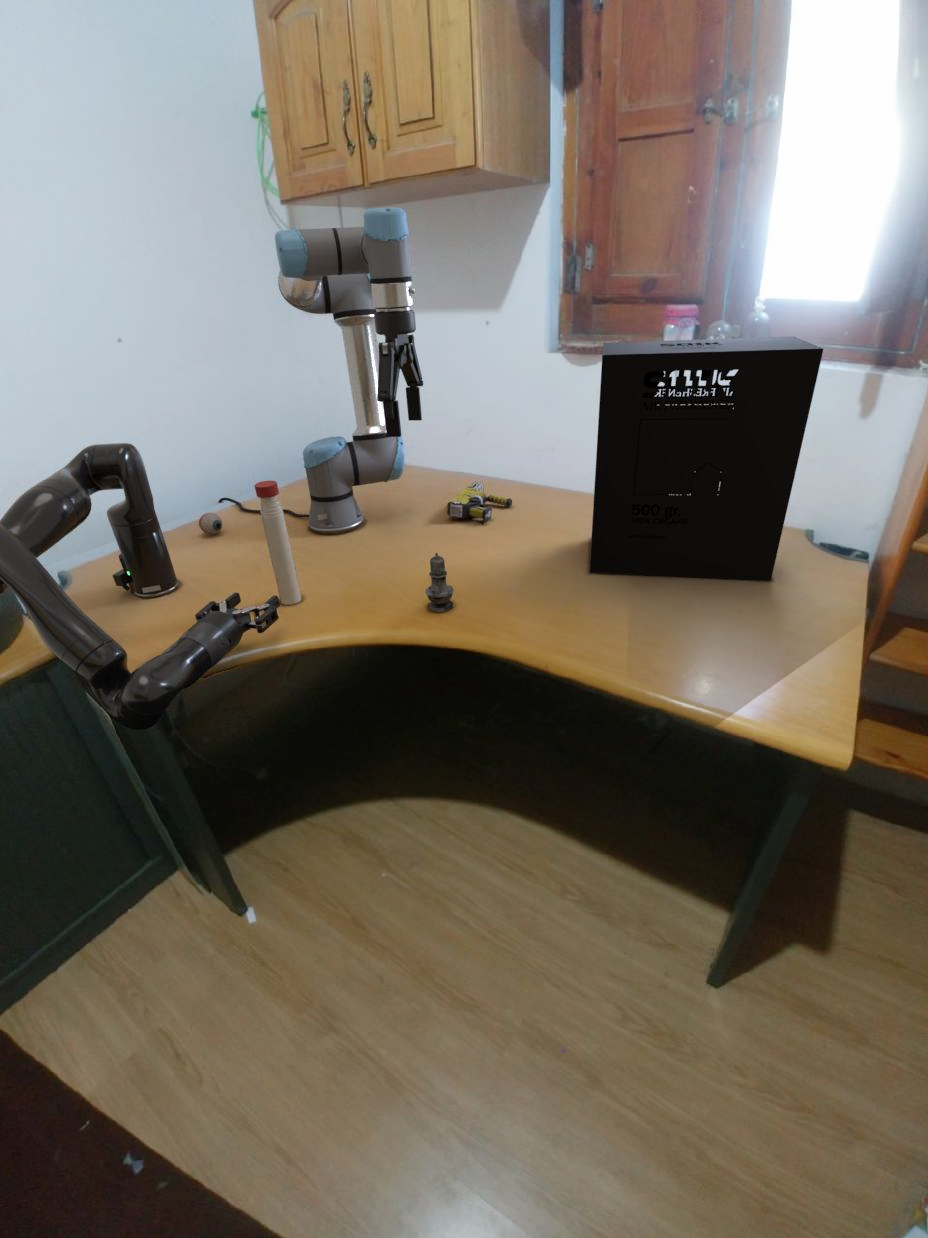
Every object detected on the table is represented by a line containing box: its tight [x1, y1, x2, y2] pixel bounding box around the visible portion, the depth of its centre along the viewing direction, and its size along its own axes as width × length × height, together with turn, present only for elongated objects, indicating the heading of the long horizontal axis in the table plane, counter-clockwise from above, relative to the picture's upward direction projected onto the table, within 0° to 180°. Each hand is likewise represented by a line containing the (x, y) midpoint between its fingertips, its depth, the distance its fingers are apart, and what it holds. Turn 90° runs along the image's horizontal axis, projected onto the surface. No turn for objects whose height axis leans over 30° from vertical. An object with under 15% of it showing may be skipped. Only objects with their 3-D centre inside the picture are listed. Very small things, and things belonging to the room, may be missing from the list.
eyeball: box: [198, 512, 223, 536], centre depth 167 cm, size 6×6×6 cm
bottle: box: [259, 495, 302, 606], centre depth 125 cm, size 4×4×26 cm
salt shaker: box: [424, 552, 455, 613], centre depth 122 cm, size 6×6×12 cm
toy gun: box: [446, 480, 513, 523], centre depth 174 cm, size 5×24×15 cm
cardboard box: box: [589, 336, 824, 581], centre depth 128 cm, size 38×20×45 cm, turn 78°
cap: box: [253, 480, 280, 499], centre depth 119 cm, size 4×4×2 cm
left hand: (257, 598), depth 119 cm, fingers open, 8 cm apart
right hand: (405, 427), depth 121 cm, fingers open, 13 cm apart
